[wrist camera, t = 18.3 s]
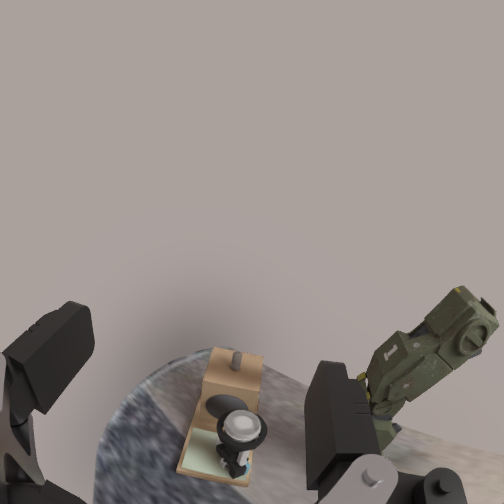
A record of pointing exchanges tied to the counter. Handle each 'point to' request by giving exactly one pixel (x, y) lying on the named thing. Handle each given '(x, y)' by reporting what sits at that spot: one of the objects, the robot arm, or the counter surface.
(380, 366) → the mechanical leg
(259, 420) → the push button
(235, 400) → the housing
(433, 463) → the counter surface
